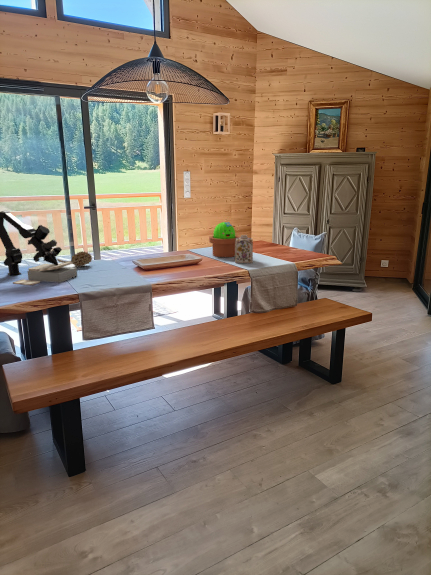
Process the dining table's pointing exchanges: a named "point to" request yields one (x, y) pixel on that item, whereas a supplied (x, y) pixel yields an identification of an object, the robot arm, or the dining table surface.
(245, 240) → the decorative jar
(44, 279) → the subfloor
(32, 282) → the plank
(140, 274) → the dining table surface
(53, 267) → the board
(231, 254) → the potted cactus
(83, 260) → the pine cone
